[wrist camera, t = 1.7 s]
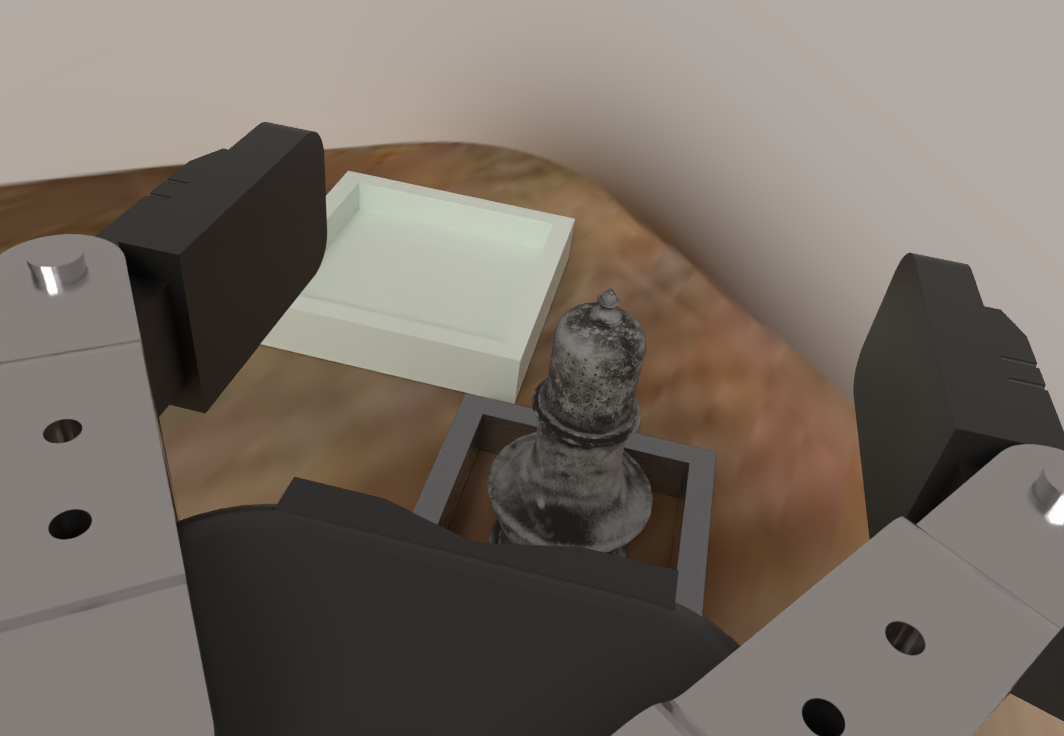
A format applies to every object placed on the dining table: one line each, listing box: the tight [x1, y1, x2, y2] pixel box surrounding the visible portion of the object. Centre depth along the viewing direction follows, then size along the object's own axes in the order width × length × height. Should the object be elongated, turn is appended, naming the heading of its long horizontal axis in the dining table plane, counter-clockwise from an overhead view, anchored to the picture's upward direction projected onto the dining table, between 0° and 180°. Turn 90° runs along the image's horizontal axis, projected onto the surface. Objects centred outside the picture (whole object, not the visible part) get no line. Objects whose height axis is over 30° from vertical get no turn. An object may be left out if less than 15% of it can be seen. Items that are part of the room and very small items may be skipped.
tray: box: [261, 171, 575, 404], centre depth 44 cm, size 13×13×2 cm
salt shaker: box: [488, 289, 653, 558], centre depth 29 cm, size 6×6×12 cm
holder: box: [413, 393, 716, 616], centre depth 33 cm, size 10×10×2 cm
